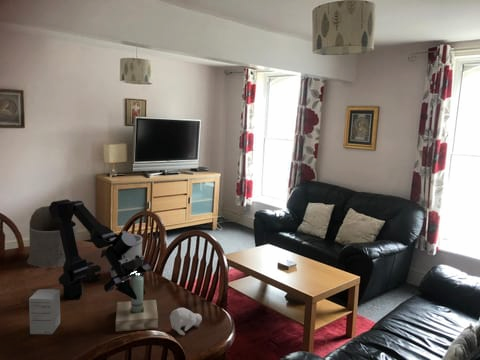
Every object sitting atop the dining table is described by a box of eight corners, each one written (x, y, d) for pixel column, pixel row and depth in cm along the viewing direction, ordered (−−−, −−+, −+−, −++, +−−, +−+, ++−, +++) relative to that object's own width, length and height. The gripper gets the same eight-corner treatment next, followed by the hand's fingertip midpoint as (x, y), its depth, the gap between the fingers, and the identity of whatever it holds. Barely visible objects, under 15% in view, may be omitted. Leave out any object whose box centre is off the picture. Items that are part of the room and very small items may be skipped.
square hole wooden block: (115, 332, 130) (115, 321, 129) (117, 312, 143) (117, 302, 143) (157, 328, 134) (157, 317, 133) (155, 309, 147) (155, 299, 146)
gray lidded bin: (67, 248, 208) (67, 203, 205) (94, 265, 187) (94, 215, 183) (20, 257, 192) (19, 208, 188) (44, 276, 170) (43, 222, 167)
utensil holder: (110, 282, 168) (110, 244, 166) (107, 270, 182) (107, 234, 179) (144, 279, 174) (145, 242, 172) (139, 267, 188) (139, 232, 185)
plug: (130, 318, 136) (131, 280, 134) (131, 312, 140) (131, 276, 138) (143, 317, 137) (144, 280, 135) (142, 311, 141) (143, 275, 139)
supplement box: (38, 322, 133) (38, 288, 131) (60, 323, 134) (60, 289, 132) (29, 334, 126) (28, 298, 124) (52, 334, 126) (51, 298, 124)
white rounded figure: (169, 306, 132) (197, 300, 140) (166, 330, 133) (194, 323, 141) (178, 314, 127) (207, 307, 135) (175, 338, 128) (204, 330, 136)
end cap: (74, 277, 172) (74, 263, 171) (89, 273, 177) (89, 259, 176) (86, 284, 165) (86, 269, 164) (101, 280, 171) (101, 265, 170)
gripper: (110, 256, 128) (134, 295, 125) (147, 242, 145) (169, 277, 141) (93, 273, 133) (116, 311, 130) (131, 257, 149) (152, 291, 146)
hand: (140, 296), depth 137 cm, fingers closed on plug, 4 cm apart
